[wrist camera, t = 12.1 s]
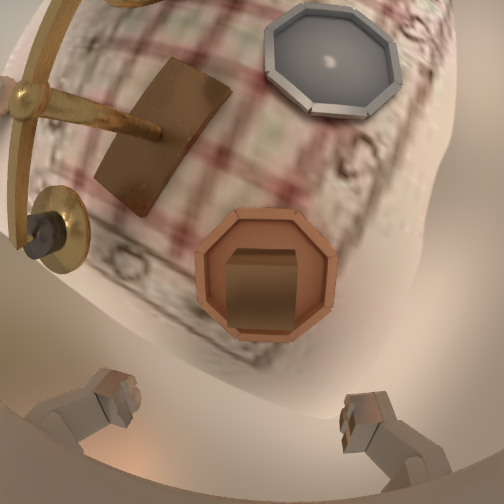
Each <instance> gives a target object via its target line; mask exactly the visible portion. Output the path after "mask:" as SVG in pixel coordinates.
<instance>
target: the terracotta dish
mask: <svg viewBox="0 0 504 504" xmlns="http://www.w3.org/2000/svg"><path fill="white" fill-rule="evenodd" d="M237 248H258V249H295V251H296V257H297V264H298V275H297V293H296V309H295V323H294V331H284V330H259V329H242V328H227V308H226V281H225V264H226V262H227V261H228V259H229V258H230V257H231V255H232V254H233V253H234V251H235V250H236V249H237ZM196 250H197V251H196V252H195V271H196V286H197V299H198V302H201V304H200V305H199V306H200V307H201V308H202V309H204V310H205V311H206V312H207V313H208V314H209V315H210V316H211V317H212V318H213V319H214V320H215V321H216V322H217V323H219V324H220V325H221V326H222V327H223V328H224V329H225V330H226V331H227V332H228V333H230V334H231V335H232V336H233V337H234V338H235V339H236V338H238V337H239V340H240V341H256V342H278V343H289V339H290V340H291V341H292V342H293V341H294V340H295V339H297V338H298V337H299V336H300V335H302V334H303V333H304V332H306V331H307V330H308V329H309V328H311V327H312V326H313V325H315V324H316V323H317V322H318V321H320V320H321V319H322V318H323V317H324V316H326V315H327V314H328V313H329V312H331V309H330V308H333V304H334V295H335V285H336V275H337V264H338V256H337V254H336V253H337V252H336V251H335V250H334V249H333V247H332V246H331V245H330V244H329V243H328V242H327V241H326V240H325V239H324V237H323V236H322V235H321V234H320V233H319V232H318V231H317V230H316V229H315V228H314V227H313V226H312V224H311V223H310V222H309V221H308V220H307V219H306V218H305V217H304V216H303V215H302V214H301V213H300V212H299V211H297V212H295V209H294V208H269V207H264V208H238V209H237V210H236V209H235V210H233V211H232V212H231V213H230V214H229V215H228V216H227V217H226V218H225V219H224V220H223V221H222V222H221V223H220V224H219V225H218V226H217V227H216V228H215V229H214V230H213V231H212V233H211V234H210V235H209V236H208V237H207V238H206V239H205V240H204V241H203V242H202V243H201V244H200V245H199V246H198V247H197V248H196Z"/></svg>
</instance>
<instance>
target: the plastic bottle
mask: <svg viewBox="0 0 504 504" xmlns="http://www.w3.org/2000/svg"><path fill="white" fill-rule="evenodd" d="M16 85H17V83H16V81H15V80H14V79H12V78H10V77H8V76H0V117H2V116H4V115H5V114H7V113H8V112H9V109H8V101H9V97H10V94H11V92H12V90H13V89H14V87H15V86H16Z"/></svg>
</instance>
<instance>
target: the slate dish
mask: <svg viewBox="0 0 504 504" xmlns="http://www.w3.org/2000/svg"><path fill="white" fill-rule="evenodd" d="M264 45H265V74H266V76H267V79H268V80H269V81H270V82H271V83H272V84H274V85H275V86H276V87H277V88H278V89H279V90H280V91H281V93H282V94H283V95H284V96H285V97H287V98H288V99H289V100H290V101H292V102H293V103H294V104H296V105H297V106H299V107H300V108H301V109H302V110H303V111H304V112H305V113H308V112H311V115H312V116H323V117H327V118H334V119H350V118H352V119H361V120H364V119H365V118H366V119H367V118H368V117H370V116H371V115H372V114H373V113H374V112H375V111H376V110H377V109H379V108H380V107H381V106H382V105H383V104H384V103H385V102H386V101H387V100H388V99H390V98H391V97H392V96H393V95H394V94H395V93H396V92H397V91H398V90H399V89H401V88H402V87H401V85H403V82H402V75H401V69H400V63H399V57H398V52H397V47H396V43H394V42H393V39H392V38H391V37H390V36H389V35H388V34H386V33H385V32H384V31H383V30H382V29H381V28H379V27H378V26H377V25H376V24H375V23H373V22H372V21H371V20H370V19H368V18H367V17H366V16H365V15H363V14H362V13H361V12H359V11H358V10H357V9H355V10H354V11H353V8H352V7H345V6H337V5H328V4H317V3H304V5H302V4H301V3H300V4H299V5H297V6H296V7H294V8H292V9H291V10H289V11H288V12H286V13H285V14H283V15H282V16H281V17H279V18H278V19H276V20H275V21H273V22H272V23H271V24H269V25H268V26H266V30H264Z"/></svg>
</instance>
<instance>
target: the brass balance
mask: <svg viewBox="0 0 504 504" xmlns="http://www.w3.org/2000/svg"><path fill="white" fill-rule="evenodd" d="M105 1H107V2H108V3H109V4H111V5H112V6H114V7H117V8H137V7H142V6H147V5H150V4H154V3H157V2H160V1H163V0H105ZM80 2H81V0H52V1H51V3H50V5H49V7H48V9H47V11H46V13H45V16H44V18H43V20H42V22H41V25H40V27H39V30H38V32H37V35H36V37H35V40H34V43H33V45H32V48H31V51H30V54H29V57H28V60H27V64H26V67H25V70H24V74H23V77H22V80H21V81H20V82H19V83H18V84H17V85H16V86H15V87H14V89H13V90H12V92H11V94H10V97H9V101H8V109H9V113H10V115H11V116H12V118H13V125H12V132H11V140H10V149H9V161H8V179H7V211H8V230H9V240H10V241H11V243H12V244H13V246H14V247H15V248H16V250H19V249H20V248H22V247H23V249H24V251H25V253H26V254H27V255H28V257H30V258H31V259H34V260H36V259H39V258H40V260H41V261H42V262H43V264H44V265H45V266H46V267H47V268H48V269H50V270H51V271H53V272H55V273H57V274H67V273H69V272H71V271H74V270H76V269H77V268H79V267H80V266H81V265H82V264H83V262H84V261H85V259H86V257H87V255H88V252H89V247H90V241H91V229H90V221H89V217H88V213H87V210H86V208H85V205H84V203H83V201H82V200H81V198H80V197H79V195H78V194H77V193H76V192H75V191H74V190H73V189H71V188H69V187H67V186H64V185H58V186H50V187H47V188H45V189H44V190H43V191H41V193H40V194H39V195H38V196H37V198H36V200H35V202H34V205H33V208H32V212H31V215H28V216H27V202H28V185H29V173H30V164H31V156H32V149H33V143H34V137H35V131H36V126H37V121H38V118H39V117H41V118H47V119H53V120H59V121H64V122H70V123H75V124H80V125H85V126H89V127H94V128H99V129H103V130H107V131H112V132H116V133H117V135H116V137H115V139H114V140H113V142H112V144H111V146H110V147H109V149H108V151H107V153H106V155H105V156H104V158H103V160H102V162H101V164H100V166H99V168H98V170H97V172H96V174H95V176H94V179H95V180H97V181H98V182H99V183H100V184H101V185H102V186H104V187H105V188H106V189H107V190H108V191H109V192H111V193H112V194H113V195H114V196H115V197H116V198H118V199H119V200H120V201H121V202H122V203H123V204H125V205H126V206H127V207H128V208H129V209H131V210H132V211H133V212H134V213H135V214H137V215H138V216H139V217H140V218H141V217H145V216H147V214H148V212H149V211H150V209H151V207H152V206H153V204H154V202H155V201H156V199H157V198H158V196H159V194H160V193H161V191H162V189H163V188H164V186H165V185H166V183H167V182H168V180H169V178H170V177H171V175H172V174H173V172H174V171H175V169H176V168H177V166H178V165H179V163H180V162H181V160H182V159H183V157H184V156H185V155H186V153H187V152H188V150H189V149H190V147H191V146H192V145H193V143H194V142H195V140H196V139H197V138H198V136H199V135H200V133H201V132H202V131H203V129H204V128H205V127H206V125H207V124H208V123H209V121H210V120H211V119H212V117H213V116H214V115H215V113H216V112H217V111H218V110H219V108H220V107H221V106H222V105H223V103H224V102H225V101H226V100H227V98H228V97H229V96H230V95H231V93H232V90H231V89H230V87H228V86H226V85H224V84H223V83H221V82H219V81H217V80H216V79H214V78H212V77H210V76H208V75H207V74H205V73H203V72H201V71H199V70H197V69H195V68H193V67H191V66H190V65H188V64H186V63H184V62H182V61H180V60H178V59H175V58H173V57H171V58H170V59H169V61H168V62H167V63H166V64H165V66H164V67H163V68H162V69H161V71H160V72H159V73H158V75H157V76H156V77H155V78H154V80H153V81H152V82H151V84H150V85H149V87H148V88H147V89H146V91H145V92H144V94H143V95H142V96H141V98H140V99H139V101H138V102H137V104H136V105H135V107H134V108H133V110H132V111H131V113H130V114H128V113H125V112H123V111H120V110H117V109H114V108H112V107H109V106H106V105H103V104H100V103H97V102H95V101H92V100H89V99H86V98H83V97H79V96H76V95H73V94H70V93H67V92H63V91H60V90H57V89H53V88H51V87H50V84H49V83H48V79H49V76H50V73H51V70H52V67H53V64H54V61H55V58H56V55H57V53H58V50H59V48H60V45H61V43H62V40H63V38H64V35H65V33H66V31H67V29H68V26H69V24H70V22H71V20H72V18H73V16H74V14H75V12H76V10H77V8H78V6H79V4H80Z"/></svg>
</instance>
